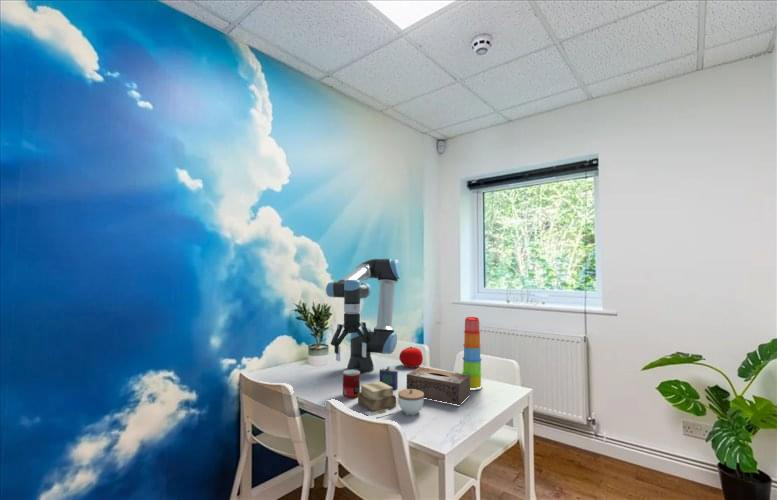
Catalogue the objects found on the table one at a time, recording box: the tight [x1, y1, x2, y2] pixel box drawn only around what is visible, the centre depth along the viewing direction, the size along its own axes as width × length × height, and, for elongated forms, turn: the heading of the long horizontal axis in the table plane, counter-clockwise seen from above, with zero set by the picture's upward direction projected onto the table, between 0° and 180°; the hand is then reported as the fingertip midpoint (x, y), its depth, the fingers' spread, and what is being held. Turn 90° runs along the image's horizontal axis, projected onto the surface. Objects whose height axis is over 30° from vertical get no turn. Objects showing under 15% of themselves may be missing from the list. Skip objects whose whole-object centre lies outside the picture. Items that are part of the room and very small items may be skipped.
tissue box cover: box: [406, 366, 471, 405], centre depth 172 cm, size 26×14×10 cm, turn 59°
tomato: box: [398, 346, 424, 368], centre depth 220 cm, size 12×14×11 cm
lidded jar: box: [397, 388, 425, 415], centre depth 153 cm, size 11×11×9 cm
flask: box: [379, 366, 399, 391], centre depth 182 cm, size 9×3×11 cm, turn 74°
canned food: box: [342, 369, 361, 399], centre depth 172 cm, size 8×8×11 cm
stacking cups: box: [461, 316, 483, 388], centre depth 185 cm, size 10×10×35 cm
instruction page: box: [364, 409, 395, 418], centre depth 152 cm, size 10×7×1 cm
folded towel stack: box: [357, 380, 397, 412], centre depth 161 cm, size 12×12×8 cm
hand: (351, 358), depth 172 cm, fingers open, 13 cm apart
